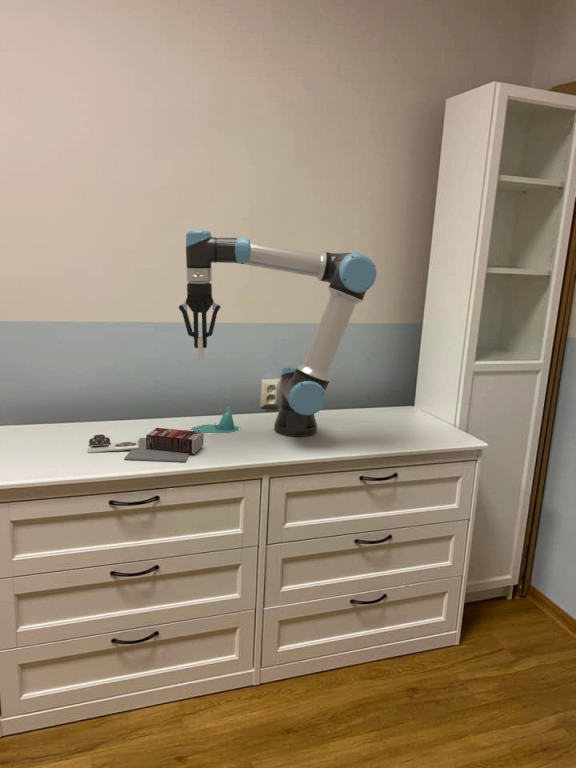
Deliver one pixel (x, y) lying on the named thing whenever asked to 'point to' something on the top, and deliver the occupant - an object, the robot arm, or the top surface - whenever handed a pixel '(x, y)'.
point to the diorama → (219, 425)
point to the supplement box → (175, 440)
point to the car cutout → (109, 445)
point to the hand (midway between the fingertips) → (200, 358)
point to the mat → (155, 454)
